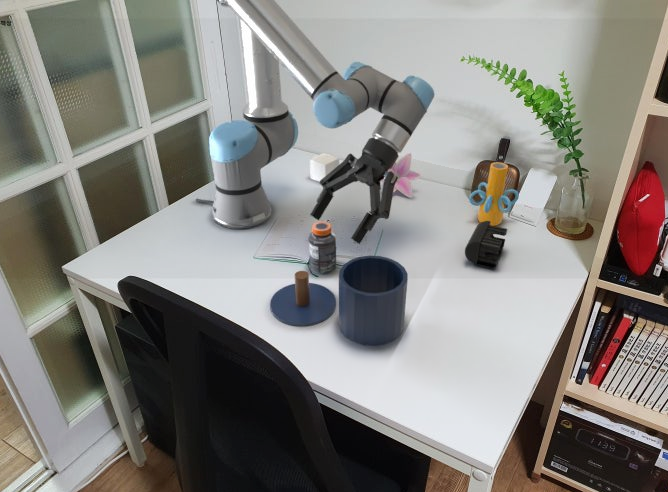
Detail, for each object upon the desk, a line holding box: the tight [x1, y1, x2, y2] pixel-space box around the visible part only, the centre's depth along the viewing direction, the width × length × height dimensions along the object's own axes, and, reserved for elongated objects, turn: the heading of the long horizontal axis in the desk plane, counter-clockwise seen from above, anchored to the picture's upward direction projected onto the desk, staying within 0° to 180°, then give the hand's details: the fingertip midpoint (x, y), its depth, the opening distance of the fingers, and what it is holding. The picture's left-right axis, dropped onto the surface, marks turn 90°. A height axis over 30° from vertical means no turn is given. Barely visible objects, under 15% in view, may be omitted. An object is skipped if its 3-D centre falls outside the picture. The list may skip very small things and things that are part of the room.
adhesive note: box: [309, 152, 340, 183], centre depth 162 cm, size 6×6×6 cm
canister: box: [338, 255, 409, 347], centre depth 107 cm, size 13×13×12 cm
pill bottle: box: [308, 221, 337, 275], centre depth 124 cm, size 6×6×11 cm
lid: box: [269, 270, 337, 327], centre depth 114 cm, size 14×14×8 cm
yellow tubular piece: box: [468, 161, 520, 227], centre depth 138 cm, size 12×10×15 cm
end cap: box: [464, 221, 508, 271], centre depth 128 cm, size 10×7×7 cm
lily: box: [380, 152, 422, 199], centre depth 155 cm, size 12×12×10 cm
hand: (334, 229), depth 123 cm, fingers open, 13 cm apart
